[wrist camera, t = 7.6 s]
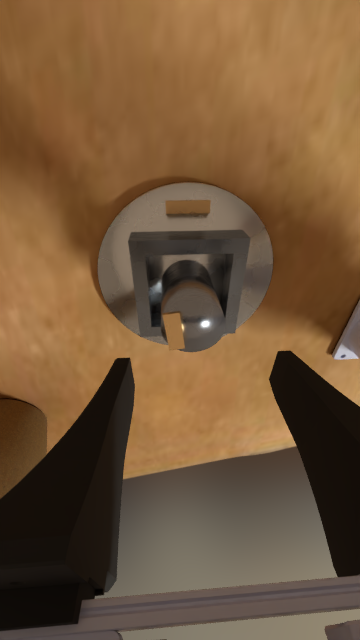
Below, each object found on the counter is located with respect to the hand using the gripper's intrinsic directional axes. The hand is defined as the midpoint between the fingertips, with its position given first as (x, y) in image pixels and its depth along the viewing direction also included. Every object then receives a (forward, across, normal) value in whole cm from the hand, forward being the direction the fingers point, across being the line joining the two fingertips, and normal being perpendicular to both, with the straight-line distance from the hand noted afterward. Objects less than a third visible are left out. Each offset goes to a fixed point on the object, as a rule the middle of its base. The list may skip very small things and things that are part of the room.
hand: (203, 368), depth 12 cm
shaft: (+10, 0, 0) cm, 10 cm away
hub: (+10, 0, 0) cm, 10 cm away
